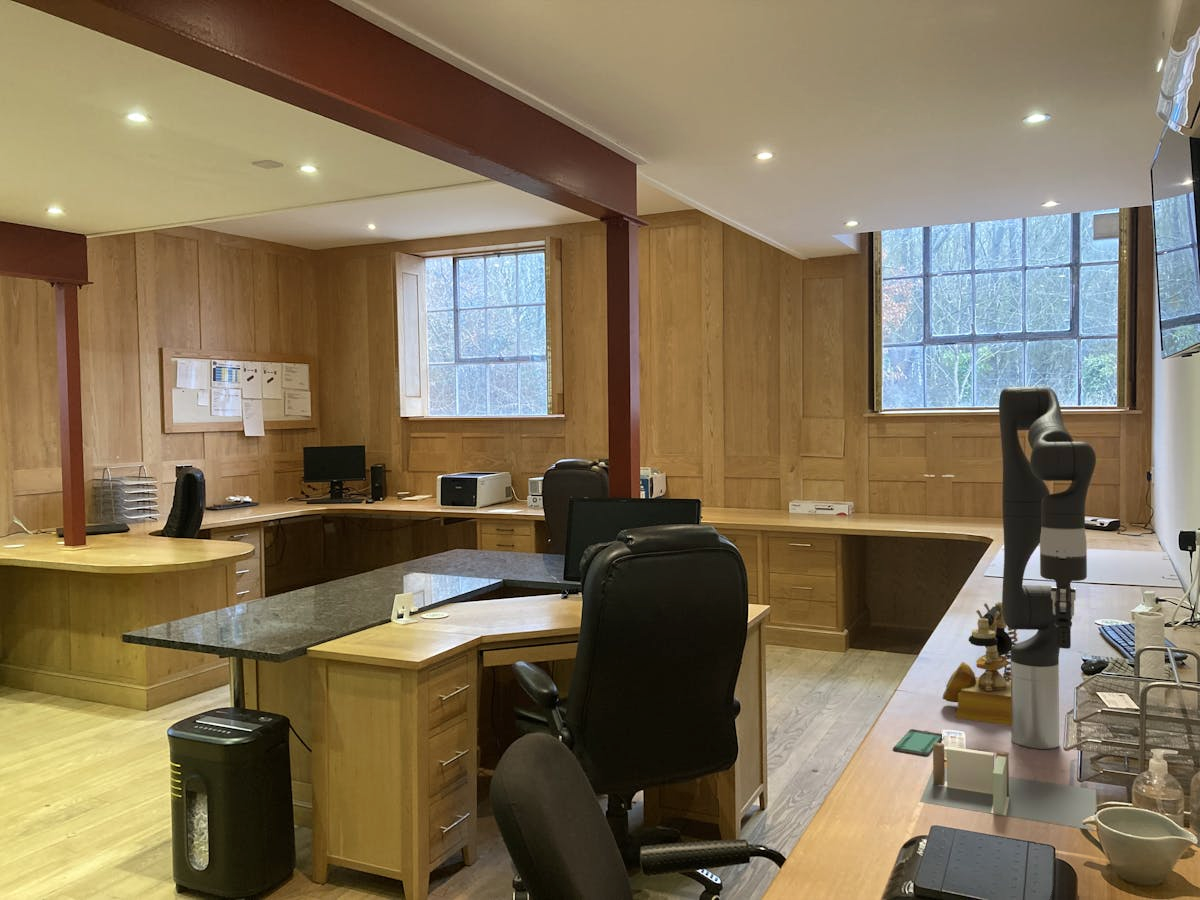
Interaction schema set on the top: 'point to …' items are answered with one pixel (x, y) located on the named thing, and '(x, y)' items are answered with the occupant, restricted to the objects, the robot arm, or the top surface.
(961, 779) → the fence fixed section
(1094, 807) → the board
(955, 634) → the top surface
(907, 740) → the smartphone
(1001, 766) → the fence gate panel
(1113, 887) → the top surface
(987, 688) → the tan ornate piece
